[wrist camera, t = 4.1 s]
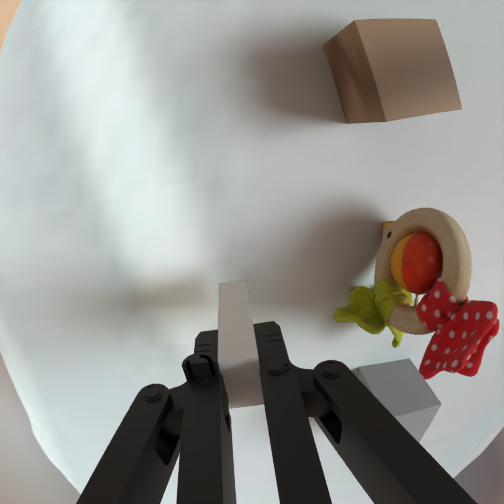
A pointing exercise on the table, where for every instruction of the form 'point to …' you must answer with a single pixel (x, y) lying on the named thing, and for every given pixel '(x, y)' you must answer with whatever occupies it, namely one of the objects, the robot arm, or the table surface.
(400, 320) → the bird rattle
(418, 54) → the walnut block
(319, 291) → the table surface
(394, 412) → the grey block
